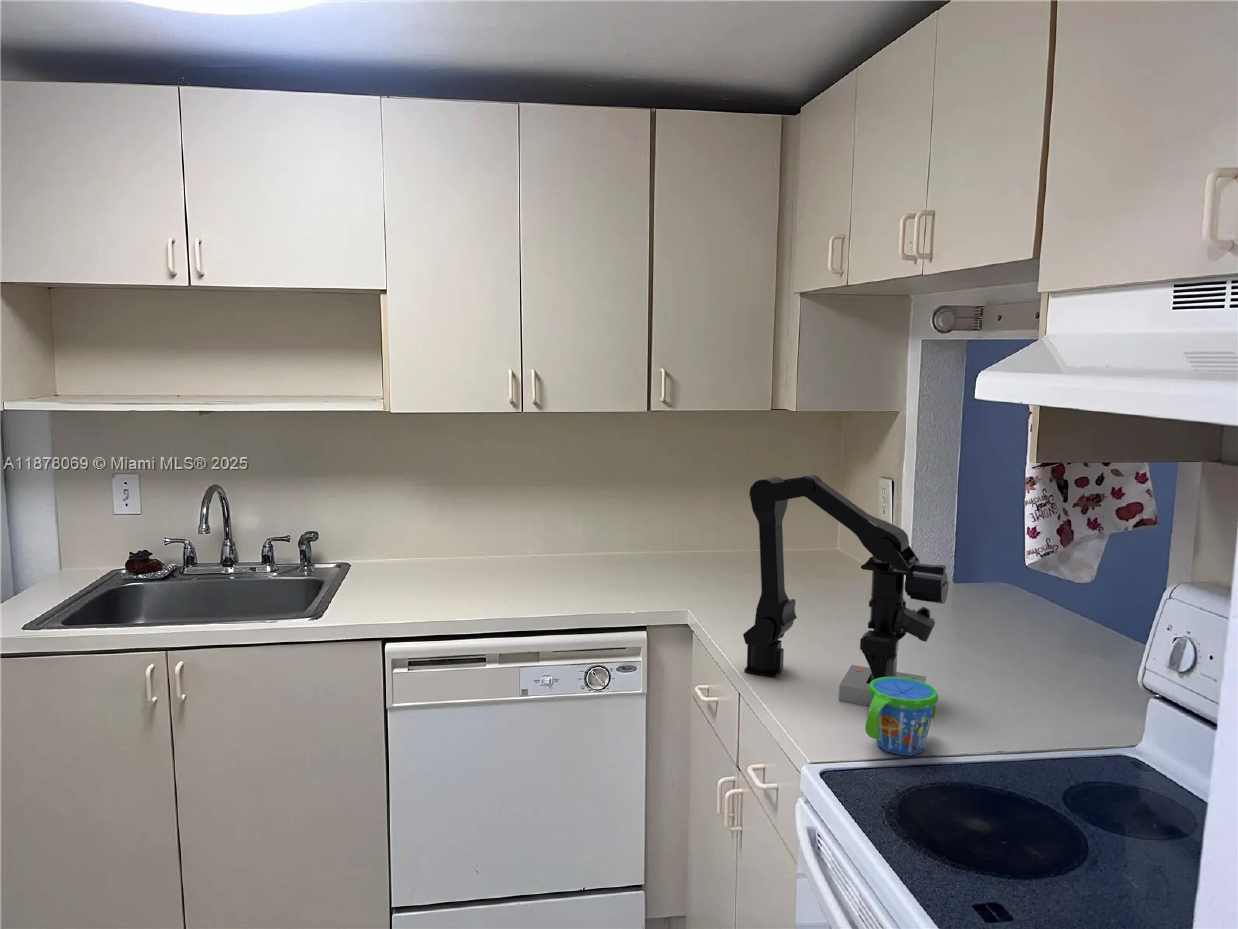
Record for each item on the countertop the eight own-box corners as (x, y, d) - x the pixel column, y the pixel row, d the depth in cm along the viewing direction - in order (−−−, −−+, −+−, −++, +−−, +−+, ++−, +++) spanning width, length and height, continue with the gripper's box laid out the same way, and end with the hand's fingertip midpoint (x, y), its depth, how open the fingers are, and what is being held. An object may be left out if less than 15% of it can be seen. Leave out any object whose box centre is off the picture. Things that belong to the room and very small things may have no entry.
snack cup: (908, 725, 147) (911, 669, 146) (959, 749, 138) (962, 689, 137) (841, 744, 140) (844, 685, 138) (890, 771, 130) (893, 708, 129)
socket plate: (838, 700, 158) (839, 684, 157) (851, 679, 169) (851, 664, 168) (917, 714, 152) (918, 698, 151) (925, 691, 162) (926, 676, 162)
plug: (870, 698, 159) (872, 650, 158) (873, 690, 163) (875, 644, 162) (892, 702, 157) (894, 654, 156) (895, 694, 161) (897, 647, 160)
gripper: (927, 614, 146) (922, 700, 148) (938, 588, 163) (933, 666, 165) (861, 605, 151) (857, 689, 153) (878, 581, 168) (874, 657, 169)
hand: (883, 675), depth 160 cm, fingers open, 9 cm apart
